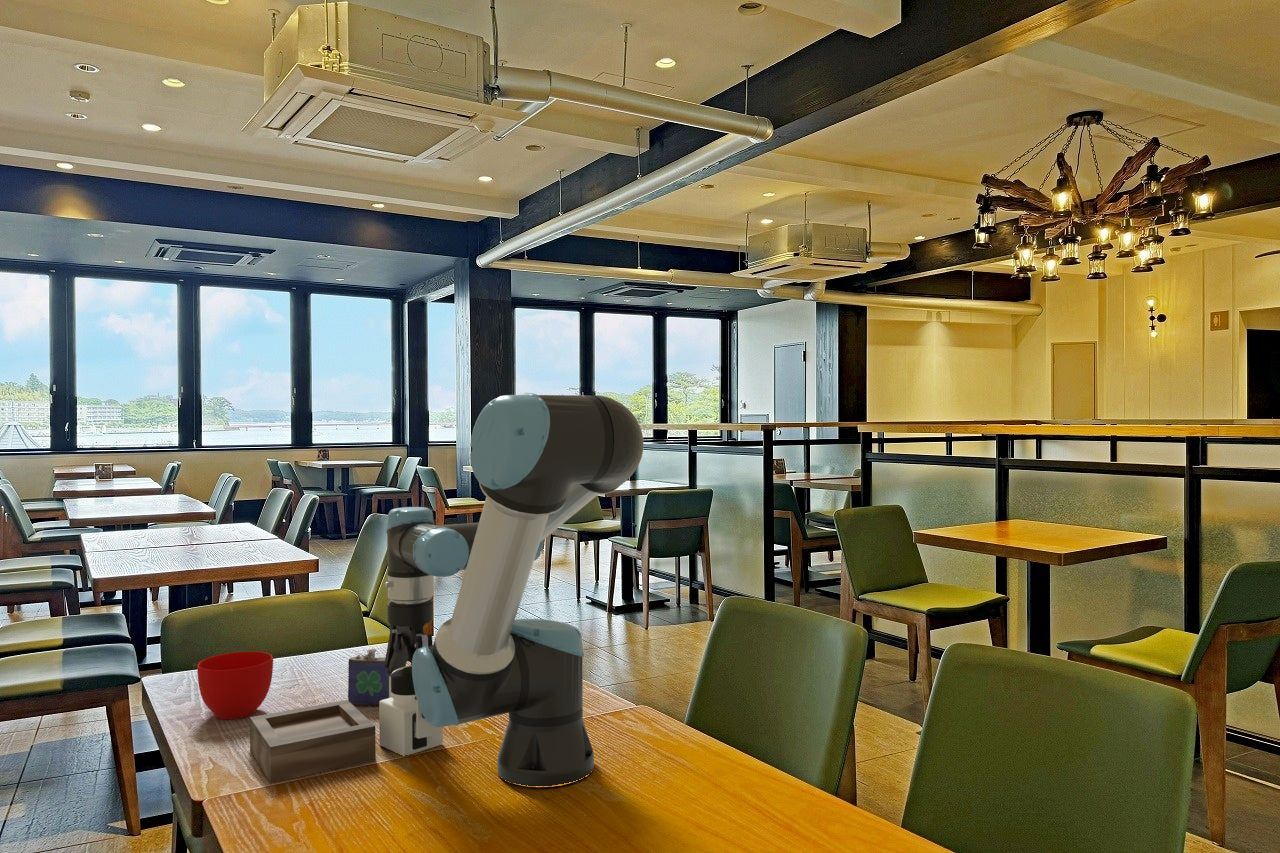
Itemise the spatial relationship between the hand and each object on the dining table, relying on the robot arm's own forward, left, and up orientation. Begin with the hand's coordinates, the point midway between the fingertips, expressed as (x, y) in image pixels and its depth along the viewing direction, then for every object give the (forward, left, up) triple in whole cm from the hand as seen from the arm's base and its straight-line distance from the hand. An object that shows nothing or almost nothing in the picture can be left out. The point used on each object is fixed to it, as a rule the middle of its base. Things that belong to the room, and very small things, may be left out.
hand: (410, 724), depth 149 cm
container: (0, 0, -4) cm, 4 cm away
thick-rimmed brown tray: (+5, +15, -4) cm, 16 cm away
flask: (+25, -1, -4) cm, 25 cm away
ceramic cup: (+36, +22, -4) cm, 42 cm away
